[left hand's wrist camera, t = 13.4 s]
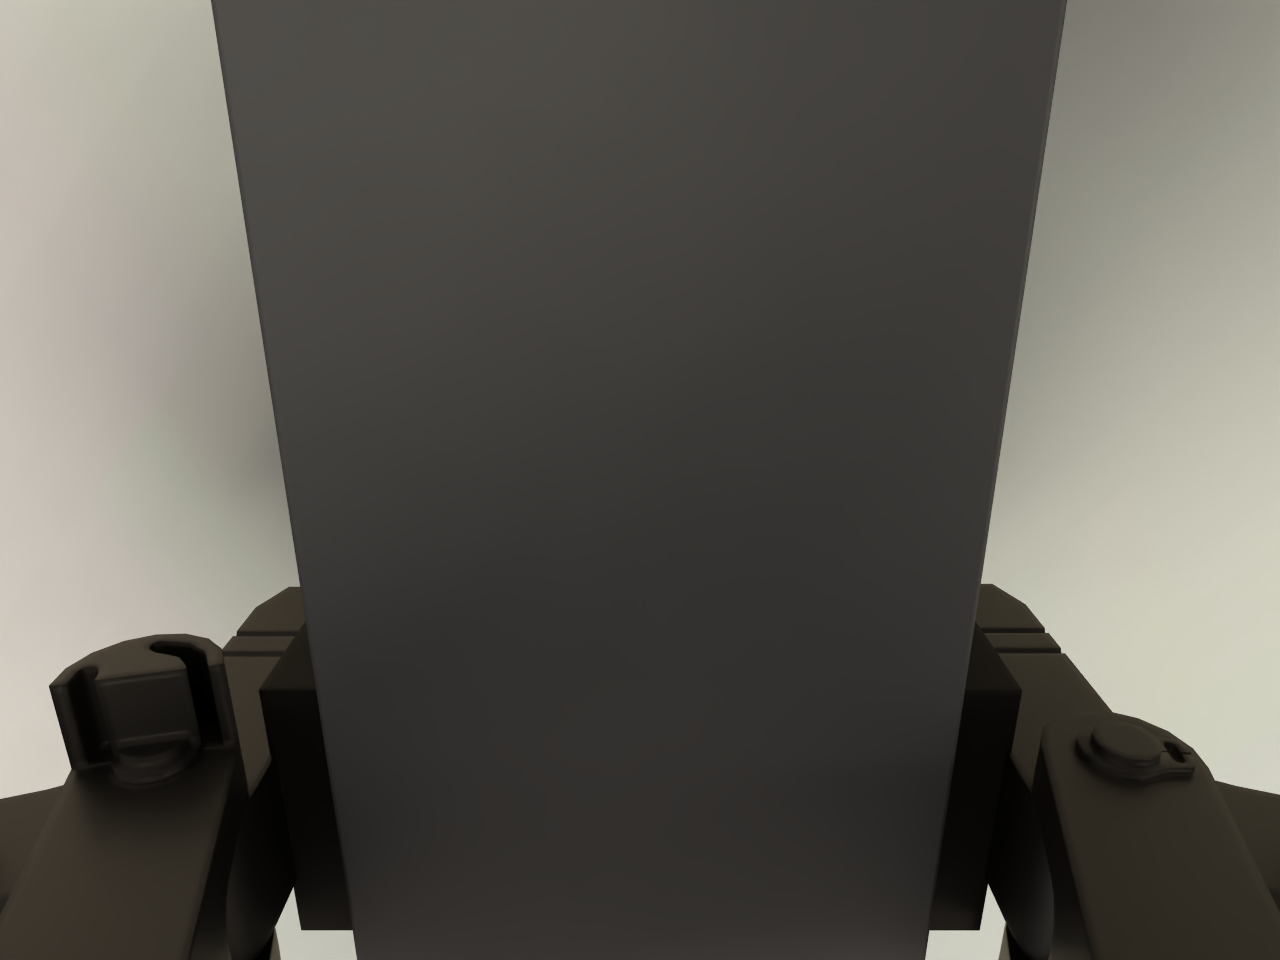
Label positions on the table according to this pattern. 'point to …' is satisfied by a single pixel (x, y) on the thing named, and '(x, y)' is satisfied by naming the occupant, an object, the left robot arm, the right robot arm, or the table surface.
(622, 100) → the bar
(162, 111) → the table surface
